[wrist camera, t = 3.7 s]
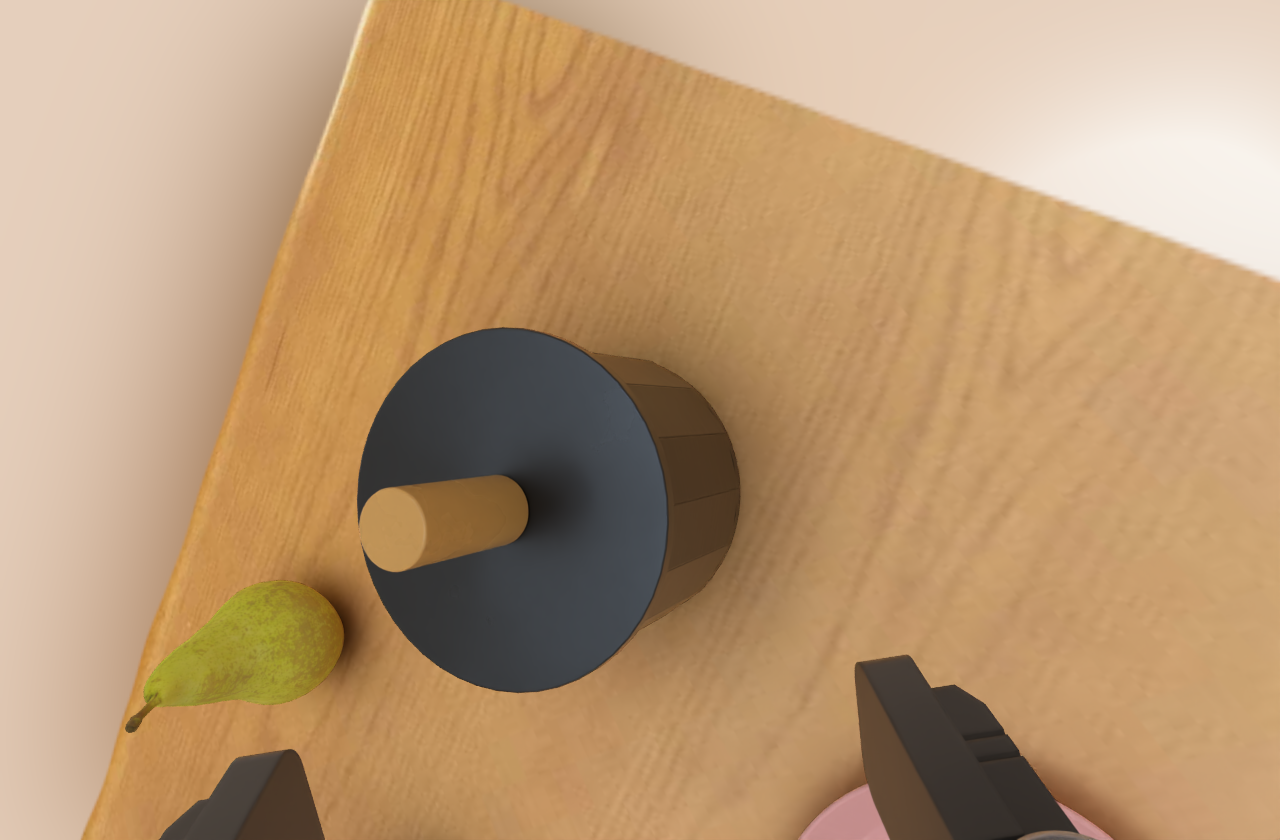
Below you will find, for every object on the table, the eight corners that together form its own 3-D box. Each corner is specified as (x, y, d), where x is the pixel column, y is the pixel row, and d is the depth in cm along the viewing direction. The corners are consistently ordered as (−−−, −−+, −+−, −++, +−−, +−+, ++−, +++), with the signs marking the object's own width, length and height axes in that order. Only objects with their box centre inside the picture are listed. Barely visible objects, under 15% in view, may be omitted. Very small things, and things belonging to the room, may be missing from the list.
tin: (520, 342, 40) (397, 325, 32) (759, 375, 35) (684, 365, 27) (489, 586, 41) (361, 627, 33) (719, 649, 36) (634, 714, 28)
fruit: (283, 566, 46) (49, 615, 35) (371, 574, 43) (149, 628, 32) (284, 675, 46) (50, 759, 35) (372, 689, 43) (151, 782, 32)
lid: (398, 312, 33) (254, 289, 27) (707, 353, 28) (617, 336, 22) (360, 633, 34) (212, 682, 27) (653, 728, 29) (552, 813, 23)
